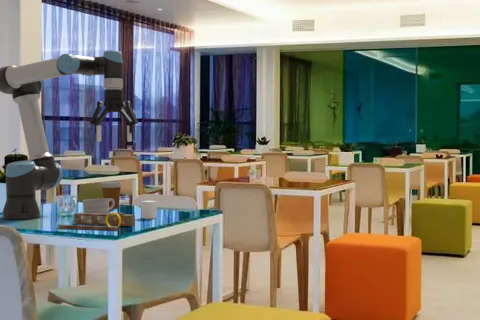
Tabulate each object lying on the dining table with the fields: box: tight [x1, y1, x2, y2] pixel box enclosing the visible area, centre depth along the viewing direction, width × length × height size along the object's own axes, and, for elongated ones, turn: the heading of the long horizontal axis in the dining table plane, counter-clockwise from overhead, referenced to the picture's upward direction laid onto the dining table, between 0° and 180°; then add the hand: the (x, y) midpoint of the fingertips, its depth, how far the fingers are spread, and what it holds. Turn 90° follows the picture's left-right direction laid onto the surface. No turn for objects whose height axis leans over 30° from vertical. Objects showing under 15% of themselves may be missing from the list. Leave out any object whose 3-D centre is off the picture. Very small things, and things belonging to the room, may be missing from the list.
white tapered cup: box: [140, 199, 158, 220], centre depth 295 cm, size 7×7×7 cm
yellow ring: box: [105, 211, 121, 227], centre depth 267 cm, size 6×3×6 cm, turn 73°
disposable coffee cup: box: [100, 181, 122, 210], centre depth 328 cm, size 10×10×12 cm
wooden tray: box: [58, 212, 136, 232], centre depth 270 cm, size 24×15×5 cm, turn 74°
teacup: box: [82, 197, 115, 214], centre depth 295 cm, size 14×11×8 cm
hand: (114, 141), depth 290 cm, fingers open, 13 cm apart
